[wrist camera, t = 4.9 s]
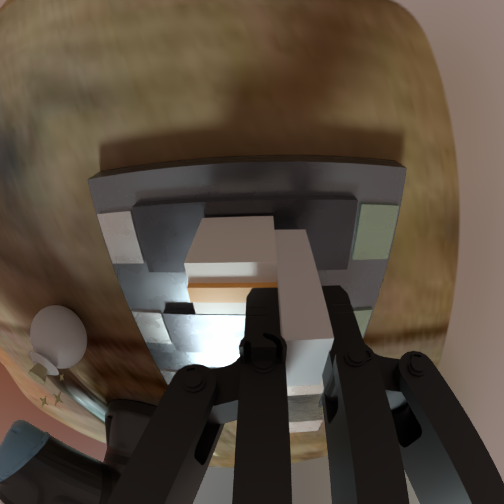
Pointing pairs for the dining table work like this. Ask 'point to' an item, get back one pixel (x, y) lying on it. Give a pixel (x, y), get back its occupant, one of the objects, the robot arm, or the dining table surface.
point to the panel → (243, 205)
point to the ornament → (56, 342)
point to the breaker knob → (230, 262)
